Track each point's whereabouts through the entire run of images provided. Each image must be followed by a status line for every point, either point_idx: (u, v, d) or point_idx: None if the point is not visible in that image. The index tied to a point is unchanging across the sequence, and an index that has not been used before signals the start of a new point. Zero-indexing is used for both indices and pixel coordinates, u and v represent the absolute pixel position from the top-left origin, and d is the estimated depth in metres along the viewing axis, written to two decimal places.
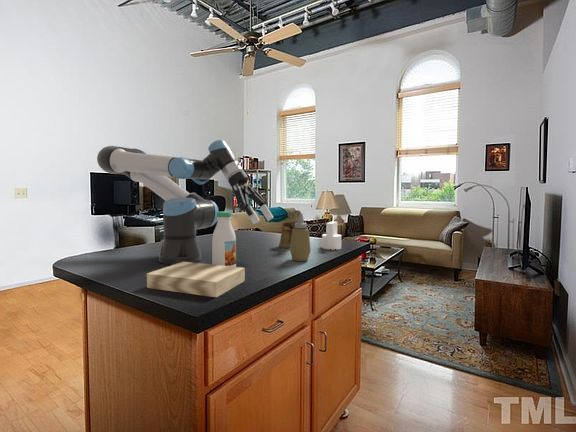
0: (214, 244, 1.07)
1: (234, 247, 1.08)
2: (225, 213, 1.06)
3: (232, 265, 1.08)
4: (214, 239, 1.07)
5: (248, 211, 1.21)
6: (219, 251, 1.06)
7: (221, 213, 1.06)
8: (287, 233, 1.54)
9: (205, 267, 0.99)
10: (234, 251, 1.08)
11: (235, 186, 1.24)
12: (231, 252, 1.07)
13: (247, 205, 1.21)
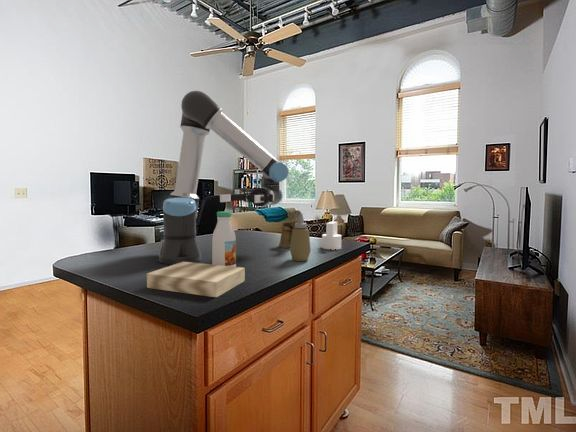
0: (214, 244, 1.07)
1: (234, 247, 1.08)
2: (225, 213, 1.06)
3: (232, 265, 1.08)
4: (214, 239, 1.07)
5: (265, 199, 1.19)
6: (219, 251, 1.06)
7: (221, 213, 1.06)
8: (287, 233, 1.54)
9: (205, 267, 0.99)
10: (234, 251, 1.08)
11: None
12: (231, 252, 1.07)
13: (267, 201, 1.21)
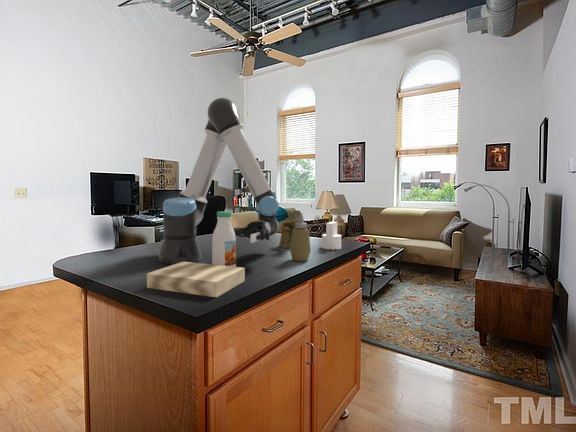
0: (214, 244, 1.07)
1: (234, 247, 1.08)
2: (225, 213, 1.06)
3: (232, 265, 1.08)
4: (214, 239, 1.07)
5: (261, 237, 1.15)
6: (219, 251, 1.06)
7: (221, 213, 1.06)
8: (287, 233, 1.54)
9: (205, 267, 0.99)
10: (234, 251, 1.08)
11: None
12: (231, 252, 1.07)
13: (263, 239, 1.17)
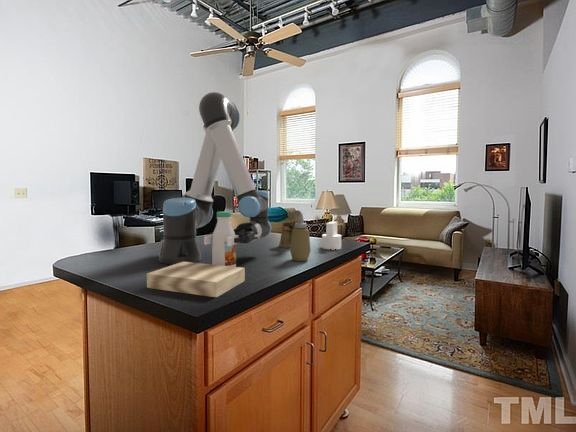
0: (214, 244, 1.07)
1: (234, 247, 1.08)
2: (225, 213, 1.06)
3: (232, 265, 1.08)
4: (214, 239, 1.07)
5: (239, 240, 1.07)
6: (219, 251, 1.06)
7: (221, 213, 1.06)
8: (287, 233, 1.54)
9: (205, 267, 0.99)
10: (234, 251, 1.08)
11: (257, 236, 1.18)
12: (231, 252, 1.07)
13: (241, 242, 1.09)
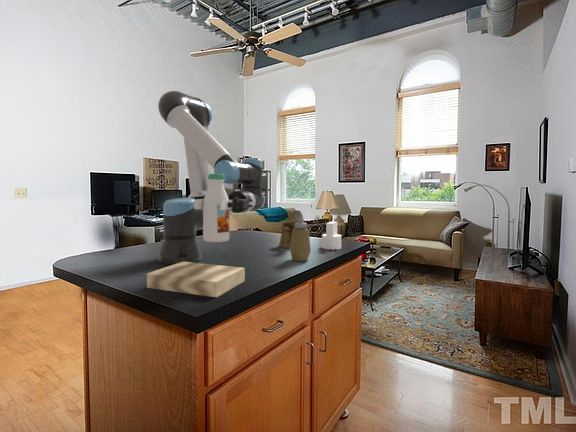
0: (205, 208, 0.97)
1: (227, 213, 0.99)
2: (218, 175, 0.97)
3: (225, 232, 0.98)
4: (205, 203, 0.97)
5: (233, 205, 0.98)
6: (211, 216, 0.96)
7: (213, 175, 0.97)
8: (287, 233, 1.54)
9: (205, 267, 0.99)
10: (227, 217, 0.99)
11: (251, 204, 1.09)
12: (224, 218, 0.98)
13: (235, 208, 1.00)
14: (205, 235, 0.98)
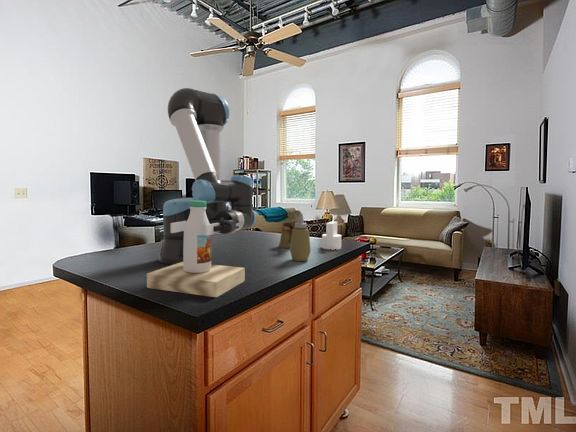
0: (185, 238, 0.92)
1: (209, 242, 0.94)
2: (199, 202, 0.92)
3: (206, 263, 0.93)
4: (185, 232, 0.92)
5: (220, 229, 0.93)
6: (191, 246, 0.91)
7: (194, 202, 0.92)
8: (287, 233, 1.54)
9: None
10: (209, 247, 0.94)
11: (238, 225, 1.04)
12: (205, 248, 0.93)
13: (223, 231, 0.95)
14: (185, 265, 0.93)
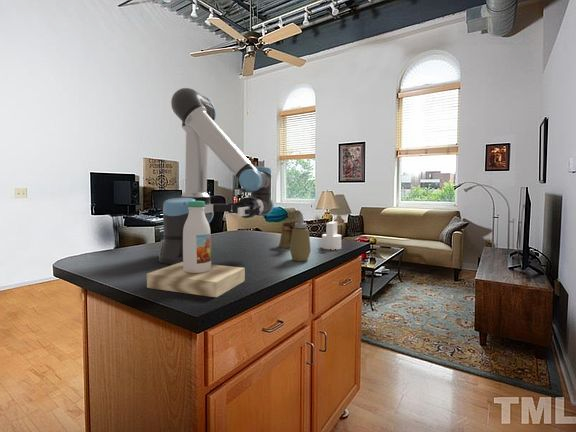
0: (184, 238, 0.92)
1: (208, 242, 0.94)
2: (197, 202, 0.92)
3: (206, 262, 0.93)
4: (184, 232, 0.92)
5: (250, 212, 1.06)
6: (190, 246, 0.91)
7: (192, 202, 0.92)
8: (287, 233, 1.54)
9: None
10: (208, 247, 0.94)
11: None
12: (204, 247, 0.93)
13: (252, 214, 1.08)
14: (184, 266, 0.93)
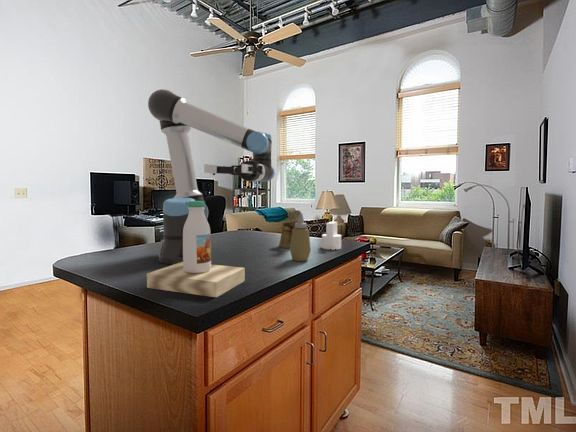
0: (184, 238, 0.92)
1: (208, 242, 0.94)
2: (197, 202, 0.92)
3: (206, 262, 0.93)
4: (184, 232, 0.92)
5: (253, 169, 1.09)
6: (190, 246, 0.91)
7: (192, 202, 0.92)
8: (287, 233, 1.54)
9: None
10: (208, 247, 0.94)
11: (262, 171, 1.20)
12: (204, 247, 0.93)
13: (255, 172, 1.11)
14: (184, 266, 0.93)
